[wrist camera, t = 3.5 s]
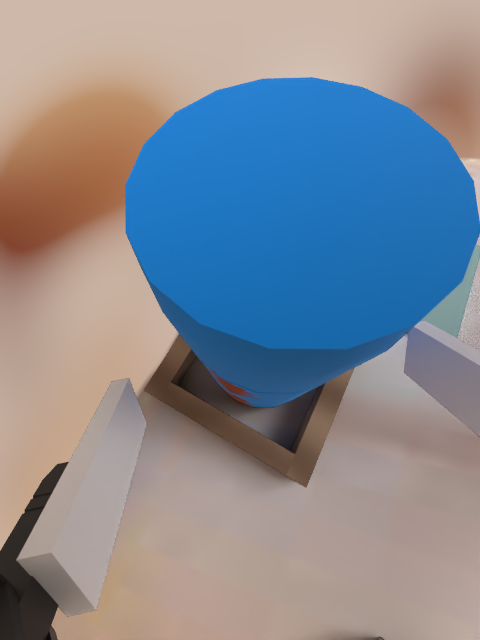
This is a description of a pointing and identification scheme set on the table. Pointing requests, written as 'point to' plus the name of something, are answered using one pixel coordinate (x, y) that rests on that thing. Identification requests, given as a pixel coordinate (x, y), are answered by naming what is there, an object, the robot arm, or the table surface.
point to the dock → (287, 462)
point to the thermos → (297, 230)
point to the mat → (454, 301)
